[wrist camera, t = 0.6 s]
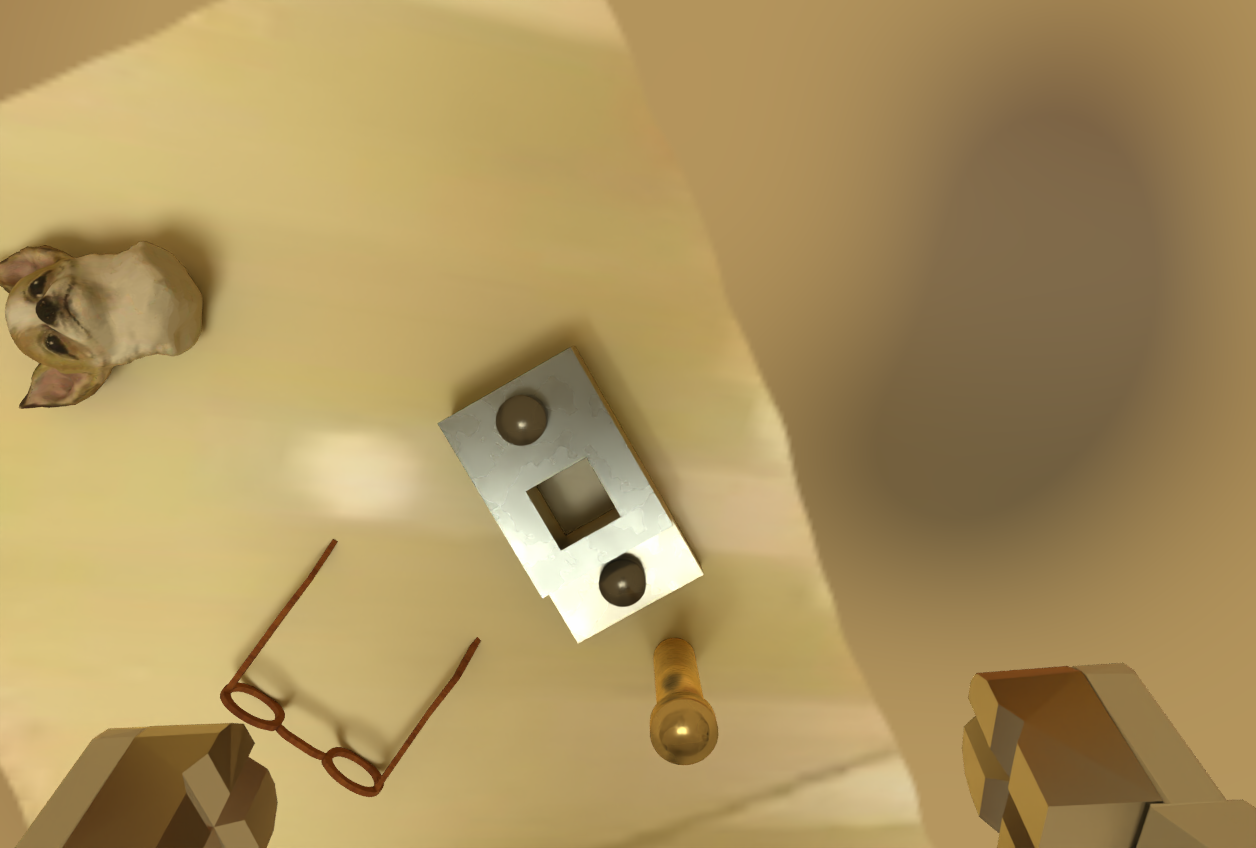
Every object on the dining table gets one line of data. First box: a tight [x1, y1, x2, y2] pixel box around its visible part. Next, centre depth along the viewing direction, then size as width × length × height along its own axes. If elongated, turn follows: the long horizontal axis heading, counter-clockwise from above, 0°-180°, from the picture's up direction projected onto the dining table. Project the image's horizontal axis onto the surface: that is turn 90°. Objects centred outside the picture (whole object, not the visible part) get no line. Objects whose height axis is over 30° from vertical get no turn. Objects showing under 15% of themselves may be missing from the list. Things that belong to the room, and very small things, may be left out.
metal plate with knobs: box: [438, 346, 704, 643], centre depth 54 cm, size 18×10×5 cm, turn 30°
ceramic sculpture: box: [0, 241, 203, 409], centre depth 52 cm, size 11×9×15 cm
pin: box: [650, 638, 718, 765], centre depth 53 cm, size 4×4×11 cm
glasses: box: [220, 539, 481, 797], centre depth 56 cm, size 13×13×5 cm
